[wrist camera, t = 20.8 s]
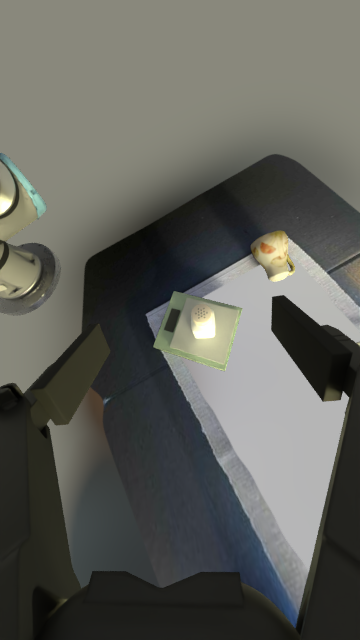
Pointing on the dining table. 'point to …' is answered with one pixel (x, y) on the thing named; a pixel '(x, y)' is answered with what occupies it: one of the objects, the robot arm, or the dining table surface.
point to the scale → (181, 339)
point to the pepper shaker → (203, 321)
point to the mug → (273, 255)
